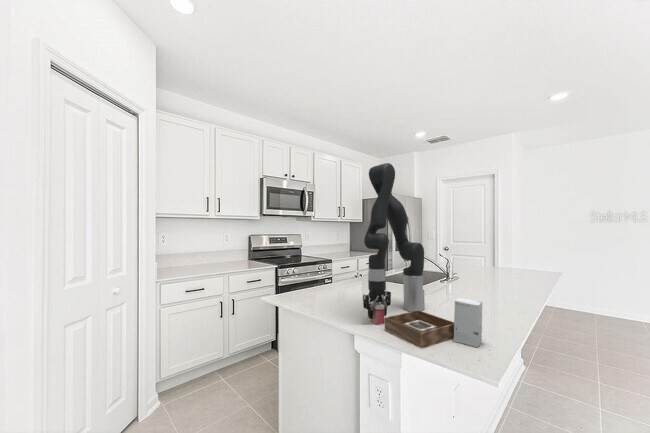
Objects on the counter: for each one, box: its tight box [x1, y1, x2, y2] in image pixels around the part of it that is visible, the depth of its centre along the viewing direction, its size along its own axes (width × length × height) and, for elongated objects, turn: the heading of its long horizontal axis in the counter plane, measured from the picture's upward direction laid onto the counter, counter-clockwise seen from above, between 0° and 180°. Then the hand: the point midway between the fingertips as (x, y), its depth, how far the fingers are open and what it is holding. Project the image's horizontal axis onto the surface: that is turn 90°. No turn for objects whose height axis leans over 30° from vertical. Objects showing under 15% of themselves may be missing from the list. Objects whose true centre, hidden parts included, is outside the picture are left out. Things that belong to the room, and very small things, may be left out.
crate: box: [384, 310, 454, 349], centre depth 110 cm, size 19×19×5 cm
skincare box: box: [453, 297, 483, 348], centre depth 101 cm, size 8×6×15 cm
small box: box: [370, 302, 385, 325], centre depth 122 cm, size 5×4×8 cm
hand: (377, 317), depth 122 cm, fingers open, 7 cm apart
